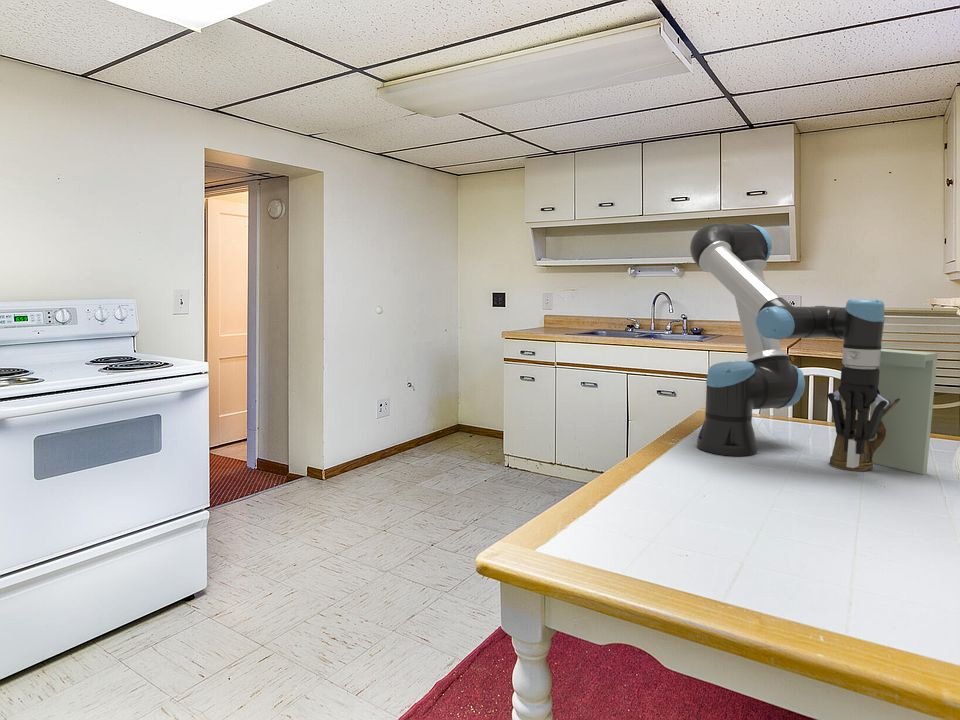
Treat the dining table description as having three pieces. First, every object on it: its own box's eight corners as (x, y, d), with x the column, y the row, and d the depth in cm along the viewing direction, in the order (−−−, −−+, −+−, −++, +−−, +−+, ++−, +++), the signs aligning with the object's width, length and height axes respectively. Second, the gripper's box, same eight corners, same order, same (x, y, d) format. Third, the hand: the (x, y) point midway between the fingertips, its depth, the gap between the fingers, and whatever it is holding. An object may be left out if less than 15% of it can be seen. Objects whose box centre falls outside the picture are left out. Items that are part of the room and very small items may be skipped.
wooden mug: (892, 477, 142) (898, 400, 140) (826, 467, 150) (831, 394, 148) (896, 469, 149) (902, 395, 147) (832, 459, 157) (837, 389, 155)
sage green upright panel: (857, 464, 152) (865, 349, 149) (869, 460, 156) (878, 348, 153) (914, 477, 142) (925, 354, 139) (926, 472, 146) (937, 353, 142)
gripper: (823, 364, 145) (816, 462, 147) (884, 371, 134) (875, 476, 137) (839, 362, 149) (831, 457, 152) (899, 368, 138) (890, 470, 141)
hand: (852, 466), depth 144 cm, fingers closed
